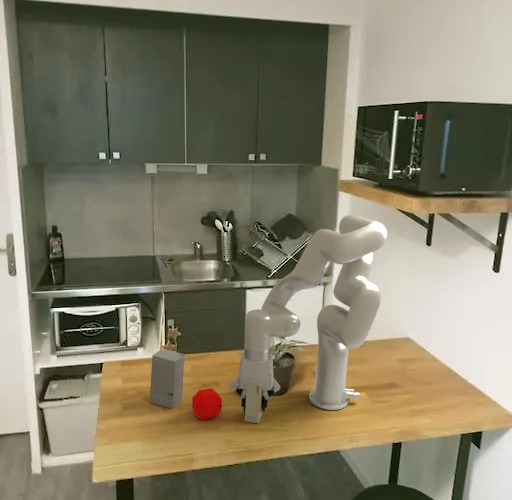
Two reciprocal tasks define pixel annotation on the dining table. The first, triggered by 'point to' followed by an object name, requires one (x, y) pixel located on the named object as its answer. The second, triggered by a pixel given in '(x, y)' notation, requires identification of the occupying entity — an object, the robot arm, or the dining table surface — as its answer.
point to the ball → (206, 403)
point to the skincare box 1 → (167, 378)
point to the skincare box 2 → (253, 403)
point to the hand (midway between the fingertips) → (254, 408)
